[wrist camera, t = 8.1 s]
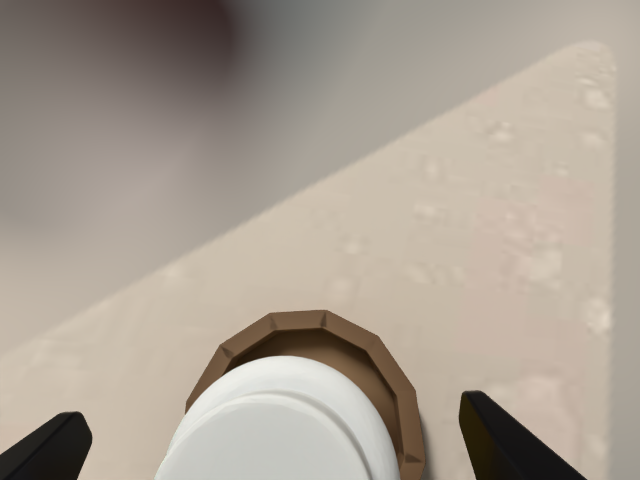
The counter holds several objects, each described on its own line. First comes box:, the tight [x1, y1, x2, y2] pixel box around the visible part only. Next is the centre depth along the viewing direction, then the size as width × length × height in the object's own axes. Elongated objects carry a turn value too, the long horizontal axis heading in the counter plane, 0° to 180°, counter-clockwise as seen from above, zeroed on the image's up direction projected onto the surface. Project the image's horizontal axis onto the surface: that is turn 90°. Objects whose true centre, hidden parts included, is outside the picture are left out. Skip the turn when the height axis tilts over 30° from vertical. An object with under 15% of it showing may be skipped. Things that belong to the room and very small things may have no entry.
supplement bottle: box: [154, 356, 400, 480], centre depth 10 cm, size 6×6×10 cm
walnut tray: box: [185, 310, 426, 480], centre depth 15 cm, size 10×10×2 cm
